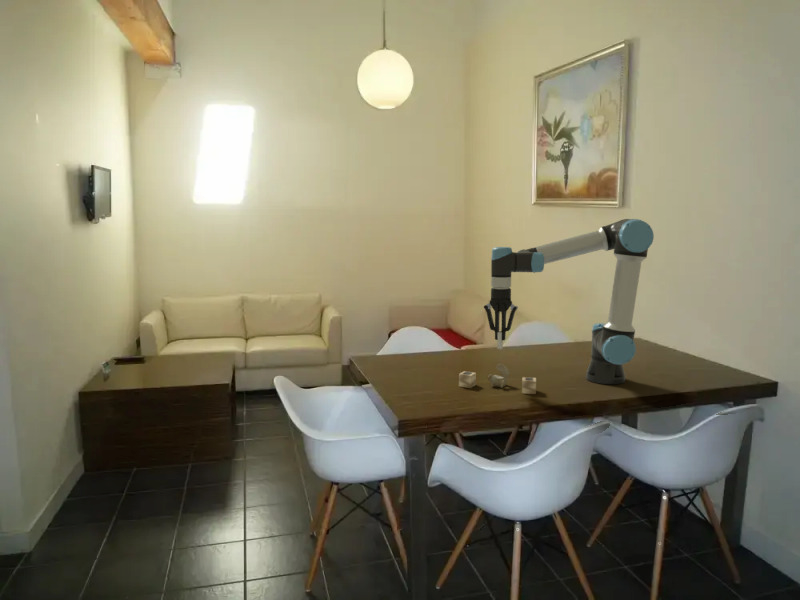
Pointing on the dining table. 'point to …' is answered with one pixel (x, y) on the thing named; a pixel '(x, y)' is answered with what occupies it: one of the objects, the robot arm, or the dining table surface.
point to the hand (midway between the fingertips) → (500, 348)
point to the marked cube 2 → (528, 385)
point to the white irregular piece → (499, 377)
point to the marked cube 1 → (467, 379)
